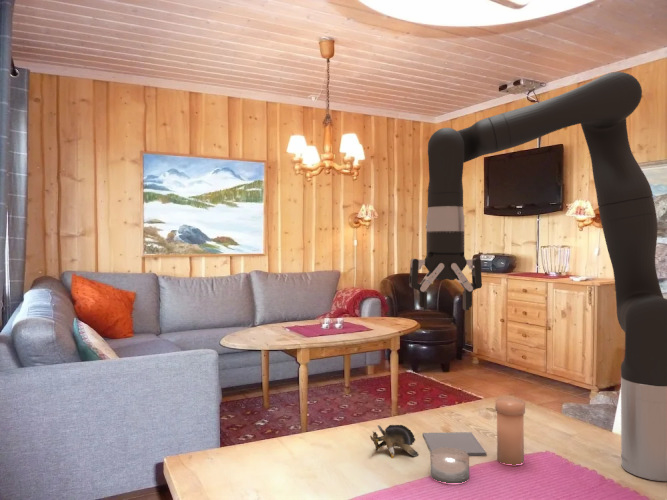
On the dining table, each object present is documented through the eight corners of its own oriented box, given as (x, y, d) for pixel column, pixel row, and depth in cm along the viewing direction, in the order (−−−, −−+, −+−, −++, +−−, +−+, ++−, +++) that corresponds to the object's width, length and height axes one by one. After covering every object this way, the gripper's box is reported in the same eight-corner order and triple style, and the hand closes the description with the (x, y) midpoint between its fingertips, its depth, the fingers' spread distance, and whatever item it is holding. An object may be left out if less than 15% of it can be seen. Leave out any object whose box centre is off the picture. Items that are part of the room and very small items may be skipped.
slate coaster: (471, 434, 112) (471, 432, 112) (486, 455, 101) (486, 452, 101) (422, 435, 112) (422, 432, 112) (432, 456, 101) (432, 453, 101)
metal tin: (463, 467, 96) (463, 447, 96) (473, 485, 89) (473, 463, 89) (427, 468, 96) (427, 447, 96) (434, 485, 89) (434, 463, 89)
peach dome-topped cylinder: (519, 454, 102) (518, 397, 102) (530, 466, 96) (529, 406, 96) (491, 454, 102) (491, 397, 102) (501, 467, 96) (500, 406, 96)
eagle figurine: (371, 457, 99) (417, 451, 97) (368, 420, 103) (411, 414, 101) (378, 464, 105) (421, 458, 103) (374, 429, 109) (415, 423, 107)
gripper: (413, 229, 97) (413, 312, 97) (486, 229, 97) (486, 312, 97) (407, 230, 104) (407, 307, 105) (474, 230, 105) (474, 307, 105)
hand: (445, 309), depth 101 cm, fingers open, 8 cm apart
